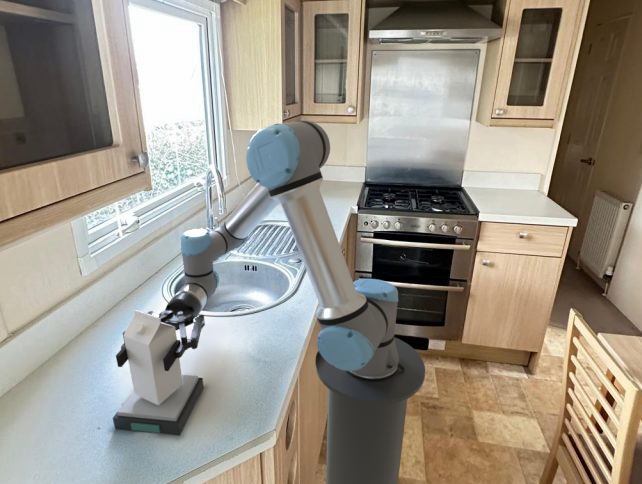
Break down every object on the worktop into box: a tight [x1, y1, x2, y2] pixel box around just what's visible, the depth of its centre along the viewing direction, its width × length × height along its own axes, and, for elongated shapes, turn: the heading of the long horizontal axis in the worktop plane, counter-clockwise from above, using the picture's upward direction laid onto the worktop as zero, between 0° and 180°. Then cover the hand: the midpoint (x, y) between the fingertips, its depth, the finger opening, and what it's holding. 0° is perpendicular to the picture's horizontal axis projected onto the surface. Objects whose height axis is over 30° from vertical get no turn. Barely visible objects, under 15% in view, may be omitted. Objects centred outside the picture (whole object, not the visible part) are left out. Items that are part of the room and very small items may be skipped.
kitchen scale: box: [112, 374, 205, 437], centre depth 89 cm, size 14×14×4 cm
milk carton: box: [123, 309, 183, 405], centre depth 85 cm, size 7×7×19 cm
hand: (142, 363), depth 80 cm, fingers closed on milk carton, 9 cm apart
